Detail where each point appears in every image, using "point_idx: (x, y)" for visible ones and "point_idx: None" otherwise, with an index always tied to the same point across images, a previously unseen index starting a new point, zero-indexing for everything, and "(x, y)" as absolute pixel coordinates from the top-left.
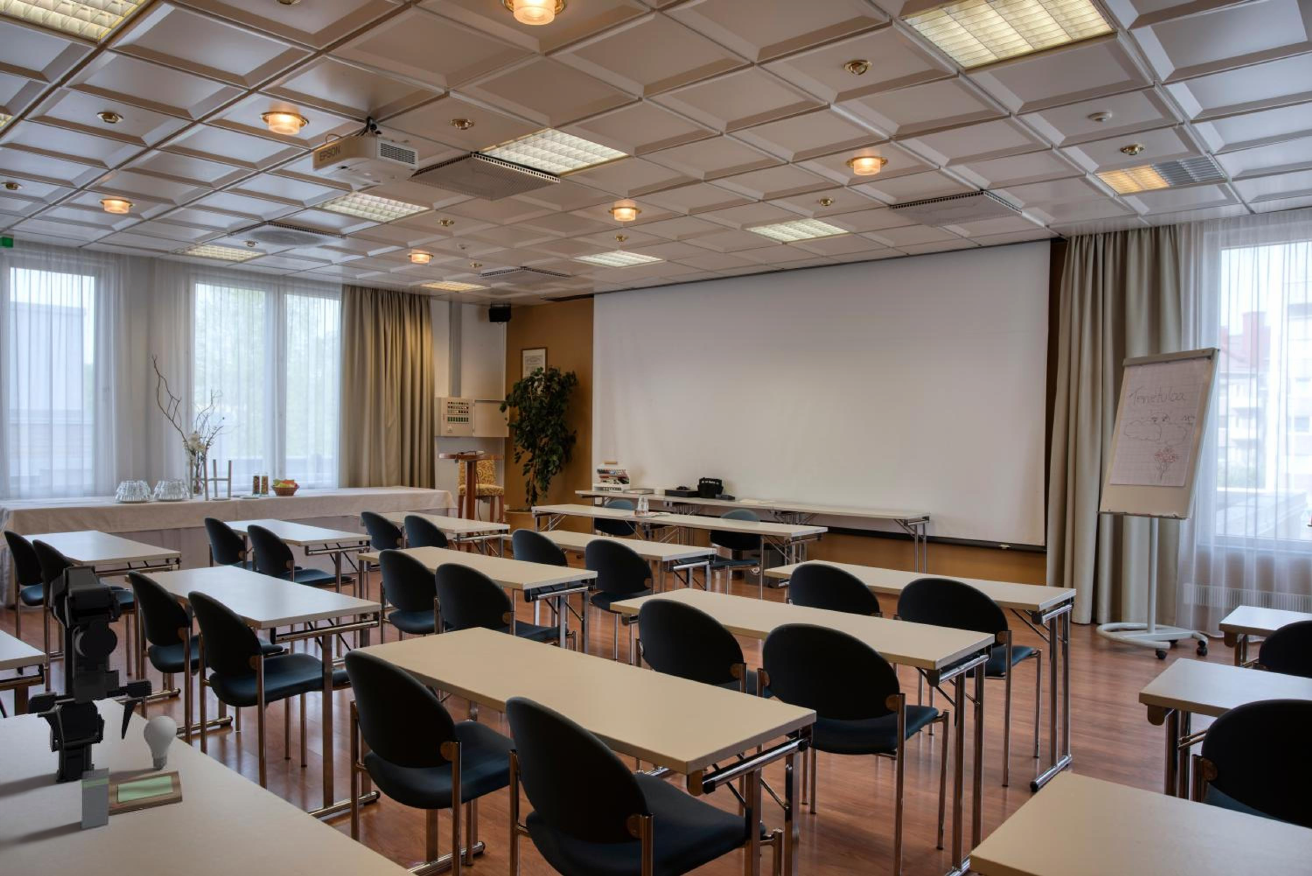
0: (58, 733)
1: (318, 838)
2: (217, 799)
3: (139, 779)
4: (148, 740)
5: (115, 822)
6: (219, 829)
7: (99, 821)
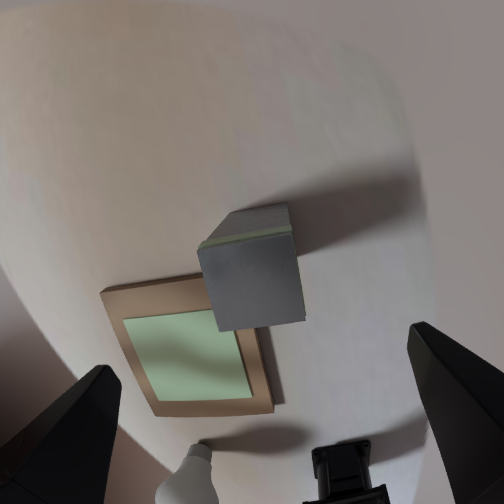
0: (486, 384)
1: None
2: (51, 272)
3: (216, 409)
4: (204, 487)
5: (215, 220)
6: (24, 127)
7: (247, 211)
